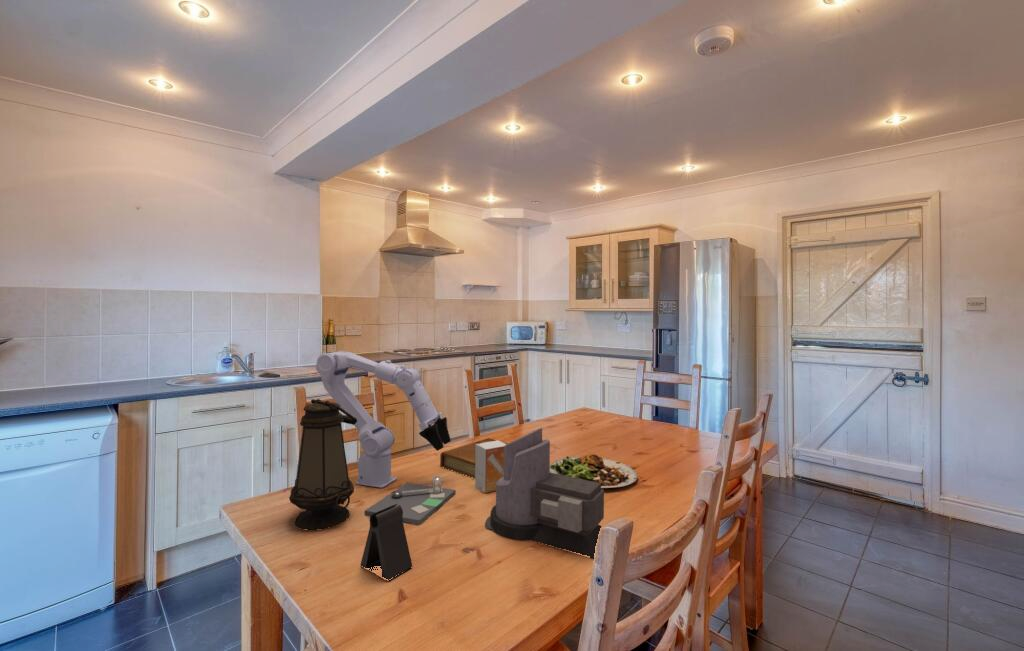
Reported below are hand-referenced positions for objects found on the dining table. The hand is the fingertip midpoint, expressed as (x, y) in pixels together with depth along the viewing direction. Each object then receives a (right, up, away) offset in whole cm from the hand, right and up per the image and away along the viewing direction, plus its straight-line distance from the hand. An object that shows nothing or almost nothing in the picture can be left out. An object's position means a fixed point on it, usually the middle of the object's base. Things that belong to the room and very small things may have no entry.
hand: (444, 445), depth 130 cm
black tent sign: (-6, -14, -41) cm, 43 cm away
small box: (+14, -13, +1) cm, 19 cm away
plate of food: (+46, -13, +12) cm, 49 cm away
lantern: (-28, -13, -19) cm, 36 cm away
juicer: (+28, -14, -24) cm, 39 cm away
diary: (+10, -13, +22) cm, 27 cm away
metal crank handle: (-6, -11, -7) cm, 15 cm away
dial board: (-7, -13, -11) cm, 18 cm away
